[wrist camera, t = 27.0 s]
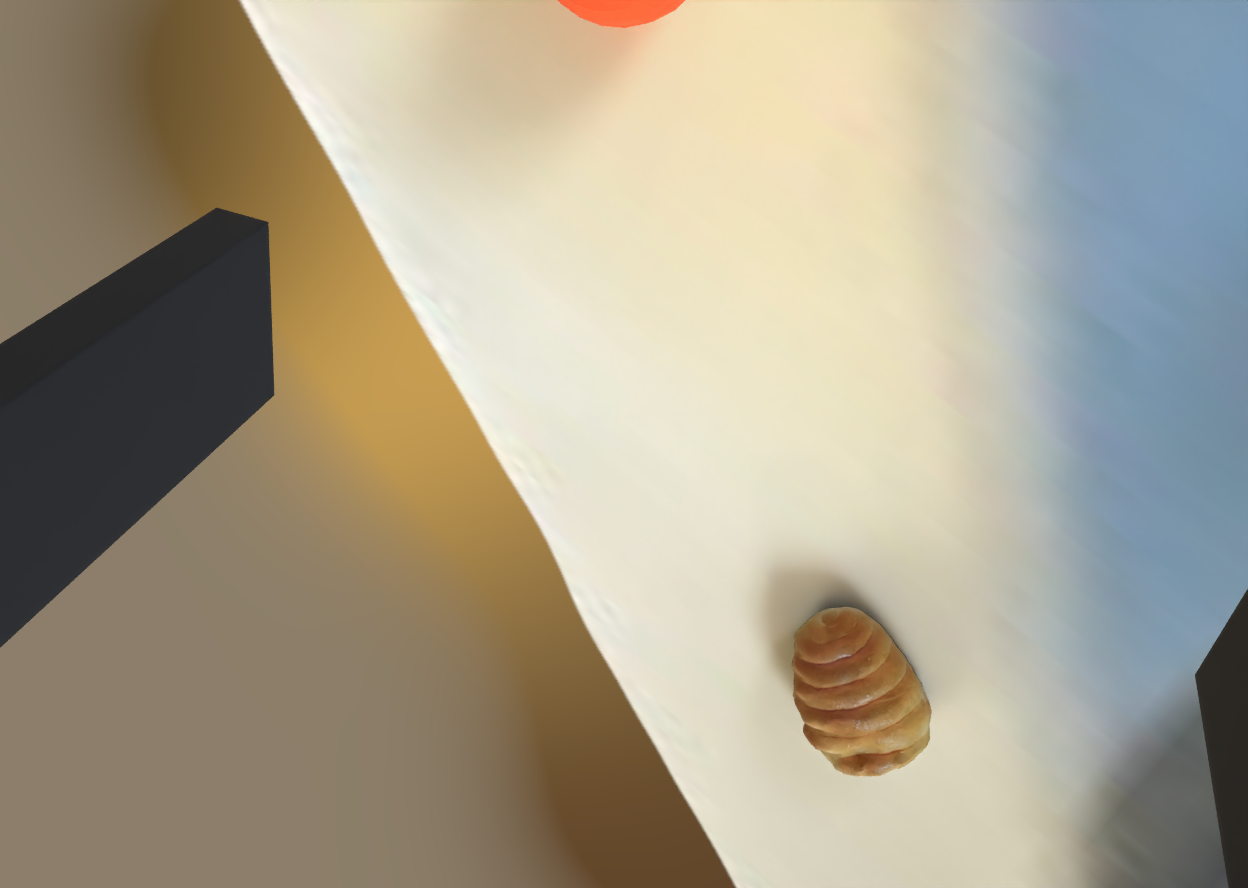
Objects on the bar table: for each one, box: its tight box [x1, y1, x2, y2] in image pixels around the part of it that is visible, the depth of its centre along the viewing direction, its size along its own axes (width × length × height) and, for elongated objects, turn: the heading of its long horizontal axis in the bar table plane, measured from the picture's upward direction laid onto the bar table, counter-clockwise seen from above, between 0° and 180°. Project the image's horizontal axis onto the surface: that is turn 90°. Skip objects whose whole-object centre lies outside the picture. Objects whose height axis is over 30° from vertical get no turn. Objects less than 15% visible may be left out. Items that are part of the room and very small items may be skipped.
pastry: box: [792, 606, 931, 776], centre depth 60 cm, size 9×7×4 cm
